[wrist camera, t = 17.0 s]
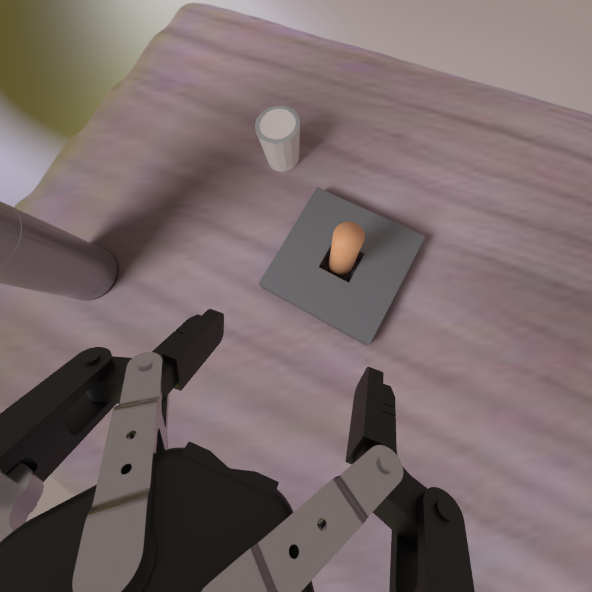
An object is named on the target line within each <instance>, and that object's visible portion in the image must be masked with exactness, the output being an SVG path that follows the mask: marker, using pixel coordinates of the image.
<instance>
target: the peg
mask: <svg viewBox="0 0 592 592" xmlns="http://www.w3.org/2000/svg"><path fill="white" fill-rule="evenodd" d="M364 239H365V234H364V231H363V229H362V228H361V226H360V225H358V224H356V223H354V222H344V223H341V224H339V225H338V226H337V227H336V228H335V230H334V232H333V238H332V245H331V252H330V259H329V271H330V273H331V274H333V275H335V276H337V277H339V278H342V277H345V276H347V275H348V274H349V273H350V272H351V269H352V267H353V265H354V263H355V260H356V258H357V256H358V253H359V251H360V249H361V247H362V244H363V242H364Z"/></svg>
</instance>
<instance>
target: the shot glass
mask: <svg viewBox="0 0 592 592" xmlns="http://www.w3.org/2000/svg"><path fill="white" fill-rule="evenodd" d="M255 131H256V133H257V136H258V138H259V141H260V143H261V146H262V148H263V151H264V153H265V156H266V158H267V161H268V163H269V165H270V167H271V168H273V169H274V170H276V171H279V172H285V171H289V170H291V169H293V168H294V167H295V166H296V165H297V163H298V161H299V144H300V118H299V116H298V114H297V113H296V111H294V110H293V109H292V108H290V107H287V106H283V105H278V106H272V107H269V108H267V109H265V110H264V111H263V112H262V113H261V114H260V115H259V116H258V118H257V120H256V122H255Z"/></svg>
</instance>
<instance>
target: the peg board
mask: <svg viewBox="0 0 592 592" xmlns="http://www.w3.org/2000/svg"><path fill="white" fill-rule="evenodd" d="M344 222H354V223H356V224H358V225H360V226H361V228H362V229H363V231H364V234H365V239H364V242H363V244H362V247H361V249H360V251H359V253H358V256H357V258H359V259H362V260H361V261H360V263H359V265H358V267H357V269H356V271H355V272H354V274H353V276H352V278H351V280H350V281H349V283H348V282H347V281H345V280H343V279H341V278H339V277H337V276H335V275H333V274H331V273H329V272H327V271H325V270H323V269H321V266H322V265H323V263H324V261H325V259H326V258H327V256H328V254H329V252H330V251H331V245H332V238H333V232H334V230H335V228H336V227H337V226H338V225H339V224H341V223H344ZM424 238H425V236H424V235H421V234H419V233H417V232H415V231H413V230H410V229H408V228H406V227H404V226H402V225H399V224H397V223H395V222H393V221H391V220H388V219H386V218H384V217H382V216H379V215H377V214H375V213H373V212H371V211H368V210H366V209H364V208H362V207H360V206H357V205H355V204H353V203H351V202H349V201H346V200H344V199H342V198H340V197H338V196H335V195H333V194H331V193H329V192H327V191H324V190H322V189H320V188H318V187H317V189H316V190H315V192H314V194H313V195H312V197H311V199H310V200H309V202H308V203H307V205H306V207H305V208H304V210H303V212H302V213H301V215H300V217H299V218H298V220H297V222H296V223H295V225H294V227H293V228H292V230H291V232H290V233H289V235H288V237H287V238H286V240H285V242H284V243H283V245H282V246H281V248H280V250H279V251H278V253H277V255H276V256H275V258H274V260H273V261H272V263H271V265H270V266H269V268H268V270H267V271H266V273H265V275H264V276H263V278H262V280H261V281H260V283H259V285H260V286H261V287H262V288H263V289H265V290H267V291H269V292H270V293H272V294H274V295H276V296H278V297H279V298H281V299H283V300H285V301H287V302H288V303H290V304H292V305H294V306H296V307H297V308H299V309H301V310H303V311H305V312H307V313H308V314H310V315H312V316H314V317H316V318H317V319H319V320H321V321H323V322H325V323H326V324H328V325H330V326H332V327H334V328H335V329H337V330H339V331H341V332H343V333H344V334H346V335H348V336H350V337H352V338H353V339H355V340H357V341H359V342H361V343H362V344H364V345H370V343H371V341H372V339H373V338H374V336H375V334H376V332H377V330H378V328H379V326H380V324H381V322H382V320H383V318H384V316H385V314H386V312H387V310H388V308H389V306H390V304H391V303H392V301H393V299H394V297H395V295H396V293H397V291H398V289H399V287H400V285H401V283H402V281H403V279H404V277H405V275H406V273H407V271H408V269H409V268H410V266H411V264H412V262H413V260H414V258H415V256H416V254H417V252H418V250H419V248H420V246H421V244H422V242H423V240H424Z"/></svg>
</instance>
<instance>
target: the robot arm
mask: <svg viewBox="0 0 592 592" xmlns="http://www.w3.org/2000/svg"><path fill="white" fill-rule="evenodd" d="M116 275H117V264H116V261H115V259H114V257H113V256H112V255H111V254H110V253H109V252H108V251H106V250H104V249H102V248H100V247H98V246H95V245H93V244H91V243H89V242H87V241H85V240H83V239H81V238H78V237H76V236H74V235H72V234H70V233H68V232H65V231H63V230H61V229H59V228H57V227H55V226H53V225H50V224H48V223H46V222H44V221H42V220H40V219H37V218H35V217H33V216H31V215H29V214H27V213H24V212H22V211H20V210H18V209H16V208H14V207H11V206H9V205H7V204H5V203H2V202H0V283H2V284H7V285H11V286H16V287H21V288H26V289H31V290H36V291H40V292H45V293H50V294H55V295H59V296H64V297H69V298H74V299H79V300H86V301H87V300H93V299H96V298H99V297H100V296H102V295H104V294H105V293H106V292H107V291H108V290H109V289H110V288H111V286H112V285H113V283H114V281H115V278H116ZM223 333H224V314H223V313H221V312H218V311H215V310H212V309H209V310H207V311H206V312H205V313H204V314H203V315H202V316H201V315H195V316H193V317H191V318H189V319H187V320H186V321H185V322H184V323H183V324H182V325H181V326H180V327H179V328H178V329H176V331H175V332H173V333H172V334H171V335H170V336H169V337H168V338H167V339H166V340H164V341H163V342H162V343H161V344H160V345H159V346H158V347H157V348H156V349H155V350H153V351H152V352H145V353H141V354H138V355H136V356H135V357H133V358H125V357H113V356H112V355H111V352H110V351H109V350H108V349H106V348H103V347H95V348H90V349H87V350H85V351H83V352H81V353H79V354H78V355H77V356H75V357H74V358H73V359H71V360H70V361H69V362H67V363H66V364H65V365H64V366H62V367H61V368H60V369H58V370H57V371H56V372H54V373H53V374H52V375H50V376H49V377H48V378H46V379H45V380H44V381H43V382H41V383H40V384H39V385H37V386H36V387H35V388H33V389H32V390H31V391H29V392H28V393H27V394H26V395H24V396H23V397H22V398H20V399H19V400H18V401H16V402H15V403H14V404H12V405H11V406H10V407H8V408H7V409H6V410H5V411H3V412H2V413H1V414H0V592H314V588H313V584H312V579H313V578H314V577H315V576H316V575H317V574H318V573H319V572H320V570H321V569H322V568H323V567H324V566H325V565H326V564H327V563H328V562H329V561H330V560H331V558H332V557H333V556H334V555H335V554H336V553H337V552H338V551H339V550H340V549H341V547H342V546H343V545H344V544H345V543H346V542H347V541H348V540H349V539H350V538H351V537H352V535H353V534H354V533H355V532H356V531H357V530H358V529H359V528H360V527H361V526H362V524H363V523H364V522H365V521H366V519H367V518H368V516H369V515H370V514H371V513H372V512H373V513H374V514H375V515H376V516H378V517H379V518H380V519H381V520H382V521H383V522H384V523H385V524H386V525H387V526H388V527H390V528H391V529H392V542H391V566H390V591H389V592H475V591H474V585H473V578H472V571H471V564H470V558H469V551H468V544H467V537H466V531H465V524H464V518H463V515H462V512H461V510H460V508H459V506H458V504H457V503H456V502H455V500H454V499H453V498H452V497H451V496H450V495H449V494H448V493H447V492H445V491H444V490H442V489H440V488H436V487H431V488H429V489H427V488H426V487H425V486H423V485H422V484H421V483H420V482H418V481H417V480H416V479H415V478H413V477H412V476H411V475H410V474H409V473H408V472H407V471H406V470H405V469H404V468H403V466H402V463H401V461H400V459H399V458H398V456H397V450H396V418H395V416H396V414H395V396H394V393H393V391H392V389H391V386H388V385H385V384H383V372H381V371H379V370H376V369H373V368H370V367H367V368H366V370H365V372H364V374H363V376H362V377H361V379H360V381H359V383H358V385H357V388H356V391H355V395H354V402H353V409H352V417H351V425H350V432H349V440H348V447H347V455H346V462H347V463H350V464H352V465H351V466H350V467H349V468H348V469H347V470H345V471H344V472H343V473H342V474H341V475H339V476H338V477H335V478H334V479H332V480H331V481H330V482H329V483H327V484H326V485H325V486H324V487H323V488H322V489H320V490H319V491H318V492H317V493H316V494H315V495H313V496H312V497H311V498H310V499H309V500H308V501H306V502H305V503H304V504H303V505H302V506H301V507H299V508H298V509H297V510H296V511H295V512H293V510H292V508H291V506H290V504H289V503H288V501H287V500H286V498H285V497H284V496H283V495H282V493H281V492H280V491H278V490H277V486H278V483H279V482H277V481H275V480H273V479H271V478H268V477H266V476H264V475H262V474H260V473H257V472H254V471H246V470H238V469H231V468H228V467H227V466H226V465H225V464H224V463H223V462H222V461H221V460H219V459H218V458H217V457H216V456H215V455H214V454H213V453H212V452H211V451H209V450H207V449H205V448H202V447H200V446H198V445H196V444H194V443H191V442H188V444H187V446H186V447H185V448H171V449H168V433H167V429H168V404H169V393H170V391H171V390H172V389H173V388H175V389H178V390H180V391H181V390H182V389H183V388H184V386H185V385H186V384H187V383H188V382H189V380H190V379H191V378H192V377H193V375H194V374H195V373H196V372H197V370H198V369H199V368H200V367H201V366H202V364H203V363H204V362H205V361H206V359H207V358H208V357H209V356H210V355H211V353H212V352H213V351H214V350H215V348H216V347H217V346H218V345H219V343H220V342H221V340H222V337H223ZM117 403H119V406H116V407H115V408H114V410H113V412H112V417H111V421H110V426H109V431H108V435H107V440H106V445H105V449H104V454H103V459H102V463H101V468H100V473H99V478H98V482H97V485H95V486H93V487H91V488H89V489H87V490H86V491H84V492H82V493H80V494H78V495H76V496H74V497H72V498H70V499H69V500H67V501H65V502H63V503H61V504H59V505H57V506H55V507H53V508H51V509H50V510H48V511H46V512H44V513H42V514H40V515H38V516H37V517H34V518H33V519H31V520H29V521H27V522H26V519H27V517H28V515H29V514H30V513H31V512H32V511H33V510H34V508H35V507H36V505H37V502H38V501H39V499H40V497H41V495H42V492H43V488H44V485H43V482H44V481H45V480H46V479H47V477H48V476H49V475H50V474H51V473H52V472H53V471H54V470H55V469H56V468H57V467H58V466H59V465H60V464H61V463H62V461H63V460H64V459H65V458H66V457H67V456H68V455H69V454H70V453H71V452H72V451H73V450H74V449H75V448H76V446H77V445H78V444H79V443H80V442H81V441H82V440H83V439H84V438H85V437H86V436H87V435H88V434H89V432H90V431H91V430H92V429H93V428H94V427H95V426H96V425H97V424H98V423H99V422H100V421H101V420H102V419H103V417H104V416H105V415H106V414H107V413H108V412H109V411H110V410H111V409H112V408H113V407H114V406H115V405H116V404H117Z"/></svg>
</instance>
